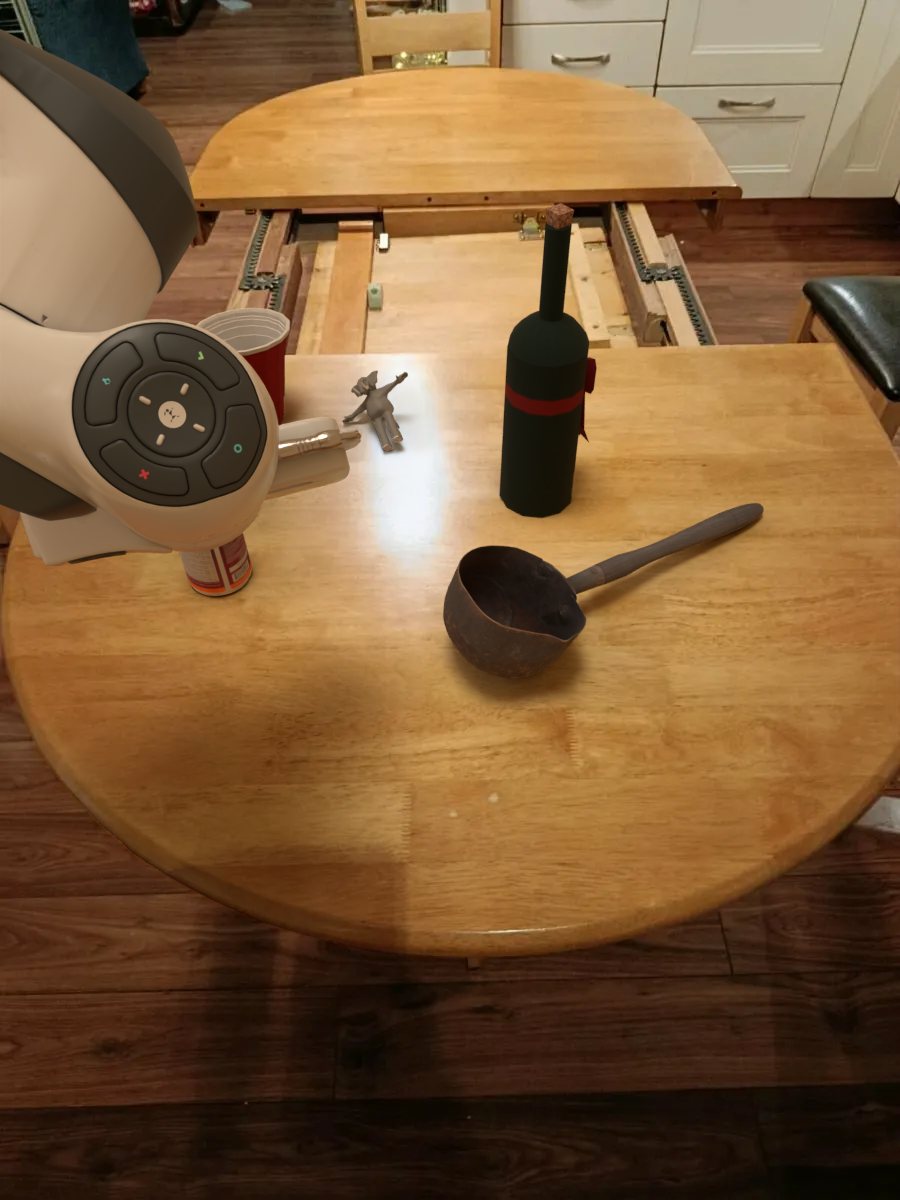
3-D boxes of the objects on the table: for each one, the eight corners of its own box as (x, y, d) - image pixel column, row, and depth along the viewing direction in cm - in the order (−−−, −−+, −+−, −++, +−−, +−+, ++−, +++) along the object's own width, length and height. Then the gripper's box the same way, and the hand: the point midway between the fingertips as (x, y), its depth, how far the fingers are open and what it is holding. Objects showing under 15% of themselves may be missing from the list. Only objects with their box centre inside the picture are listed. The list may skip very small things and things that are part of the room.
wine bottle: (604, 490, 91) (650, 206, 69) (530, 528, 87) (553, 240, 65) (556, 453, 95) (585, 175, 73) (484, 487, 91) (491, 204, 69)
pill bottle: (244, 546, 86) (220, 457, 77) (259, 587, 82) (236, 498, 74) (183, 564, 84) (152, 475, 76) (196, 606, 80) (165, 517, 72)
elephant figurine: (345, 463, 95) (320, 398, 98) (377, 475, 100) (353, 413, 103) (411, 412, 90) (384, 346, 93) (442, 428, 95) (415, 364, 98)
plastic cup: (295, 385, 105) (279, 294, 96) (314, 435, 98) (299, 342, 89) (207, 402, 103) (183, 310, 94) (220, 454, 96) (194, 361, 87)
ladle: (406, 627, 75) (434, 543, 69) (679, 537, 97) (721, 467, 90) (482, 724, 70) (520, 643, 63) (754, 606, 91) (804, 536, 85)
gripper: (351, 376, 49) (323, 422, 63) (-23, 459, 44) (34, 490, 58) (380, 481, 50) (347, 505, 63) (14, 575, 45) (62, 579, 58)
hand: (195, 498), depth 61 cm, fingers open, 8 cm apart
